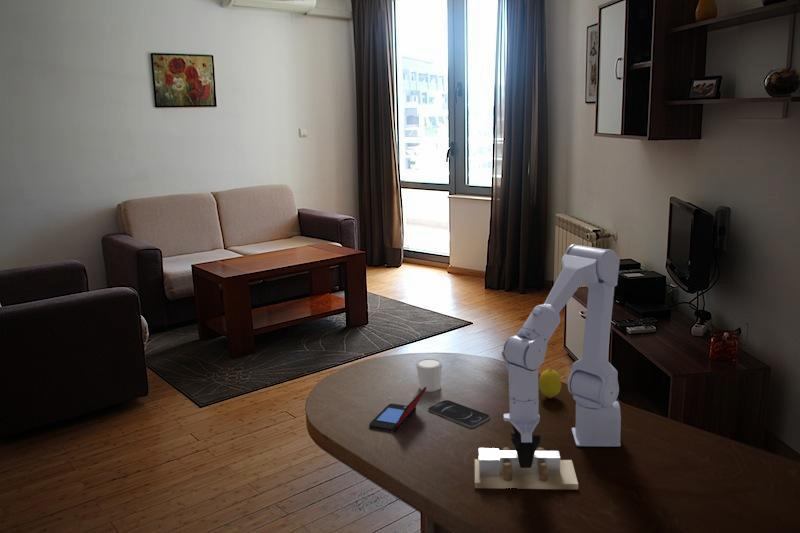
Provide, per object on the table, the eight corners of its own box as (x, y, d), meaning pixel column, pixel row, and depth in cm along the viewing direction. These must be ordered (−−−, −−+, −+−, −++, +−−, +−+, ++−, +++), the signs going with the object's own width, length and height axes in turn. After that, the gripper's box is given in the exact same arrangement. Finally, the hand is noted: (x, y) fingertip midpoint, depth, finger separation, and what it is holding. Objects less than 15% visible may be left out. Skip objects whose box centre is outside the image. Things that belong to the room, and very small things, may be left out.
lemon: (564, 395, 173) (564, 366, 171) (556, 404, 168) (556, 374, 166) (543, 391, 176) (543, 363, 174) (535, 400, 171) (535, 370, 169)
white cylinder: (443, 391, 179) (442, 367, 177) (417, 393, 179) (416, 368, 178) (442, 381, 186) (441, 357, 184) (417, 382, 186) (416, 358, 184)
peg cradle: (571, 465, 141) (571, 446, 140) (578, 489, 132) (578, 469, 131) (474, 464, 143) (474, 445, 142) (474, 488, 134) (474, 468, 133)
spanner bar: (558, 465, 139) (558, 448, 138) (560, 477, 134) (560, 460, 133) (479, 464, 140) (478, 448, 139) (479, 476, 136) (479, 459, 135)
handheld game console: (389, 407, 172) (388, 379, 171) (429, 413, 168) (427, 385, 166) (367, 429, 161) (365, 400, 160) (408, 436, 157) (407, 406, 155)
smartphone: (446, 399, 174) (492, 415, 163) (446, 402, 174) (492, 419, 163) (425, 409, 169) (471, 426, 158) (426, 412, 169) (471, 430, 158)
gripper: (501, 380, 141) (502, 439, 144) (504, 411, 127) (505, 476, 130) (536, 380, 140) (536, 440, 143) (543, 411, 126) (543, 477, 129)
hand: (524, 457), depth 136 cm, fingers open, 6 cm apart
